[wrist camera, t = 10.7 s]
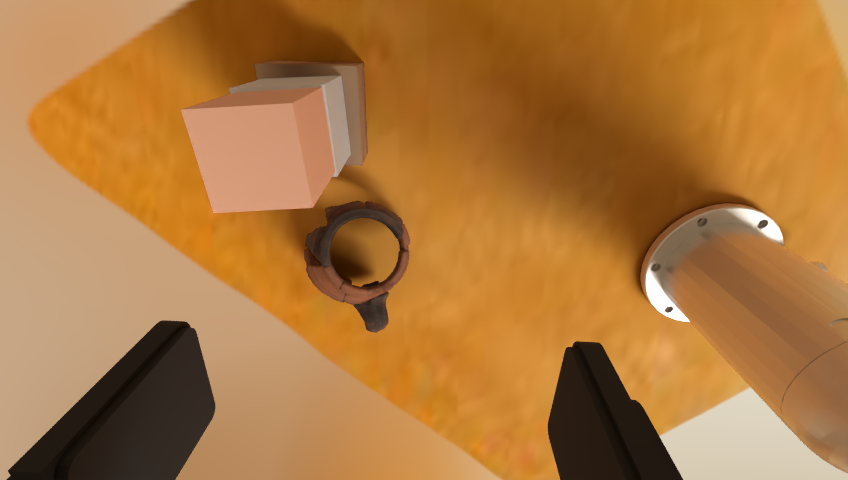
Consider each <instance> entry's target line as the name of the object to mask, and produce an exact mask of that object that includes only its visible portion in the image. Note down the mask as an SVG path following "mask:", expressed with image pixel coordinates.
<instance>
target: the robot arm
mask: <svg viewBox="0 0 848 480" xmlns="http://www.w3.org/2000/svg"><path fill="white" fill-rule="evenodd" d="M826 270H827V269H826V266H825V265H824V264H823V263H821V262H809V261H807V260H806V259H804V258H802V257H800V256H799V255H797V254H795V253H794V252H792V251H790V250H788V249H787V248H785V247H784V240H783V235H782V233H781V230H780V228H779V226H778V225H777V224H776V223H775V221H774V220H773V219H772V218H771V217H769V216H768V215H766V214H765V213H763V212H761V211H759V210H757V209H755V208H753V207H750V206H746V205H742V204H730V203H725V204H717V205H711V206H708V207H704V208H701V209H698V210H696V211H694V212H691V213H689V214H687V215H685V216H683V217H682V218H680V219H679V220H677V221H676V222H674V223H673V224H671V225H670V226H669V227H668V228H667V229H666V230H664V231H663V232H662V233H661V234H660V235H659V237H658V238H657V239H656V240H655V241H654V242H653V244H652V245H651V247H650V249H649V250H648V252H647V254H646V256H645V259H644V261H643V264H642V268H641V275H640V278H641V287H642V290H643V293H644V295H645V297H646V298H647V300H648V301H649V302H650V303H651V305H652V306H653V307H654V308H655V309H656V310H657V311H658V312H660V313H661V314H663V315H664V316H667V317H669V318H672V319H674V320H679V321H684V322H690V323H691V324H692V325H693V326H694V327H695V328H696V329H697V330H698V331H699V332H700V333H701V334H702V335H703V336H704V338H705V339H706V340H707V341H708V342H709V343H710V344H711V345H712V346H713V347H714V348H715V349H716V350H717V351H718V353H719V354H720V355H721V356H722V357H723V358H724V359H725V360H726V361H727V362H728V363H729V364H730V365H731V366H732V368H733V369H734V370H735V371H736V372H737V373H738V374H739V375H740V376H741V377H742V378H743V379H744V380H745V381H746V383H747V384H748V385H749V386H750V387H751V388H752V389H753V390H754V391H755V392H756V393H757V394H758V395H759V397H761V399H763V401H764V402H765V403H766V404H767V405H768V406H769V407H770V408H771V409H772V410H773V411H774V412H775V414H776V415H777V416H778V417H779V418H780V419H781V420H782V421H783V422H784V423H785V424H786V425H787V426H788V428H789V429H791V430H792V432H793V433H794V434H795V435H796V436H797V437H798V438H799V439H800V440H801V441H802V442H803V443H804V444H805V445H806V446H807V447H808V448H809V449H810V450H811V451H813V452H814V453H815V454H816V455H818V456H819V457H820V458H822V459H823V460H824V461H826V462H828V463H829V464H831V465H833V466H834V467H836V468H838V469H840V470H842V471H844V472H846V473H848V284H846V283H845V282H843V281H841V280H840V279H838V278H836V277H834V276H833V275H831V274H829V273H828V272H826ZM214 412H215V402H214V398H213V394H212V390H211V386H210V382H209V379H208V375H207V371H206V367H205V363H204V360H203V356H202V352H201V348H200V344H199V341H198V337H197V333H196V331H195V329H194V328H191V327H190V325H189V324H188V323H187V322H182V321H160V322H159V323H157V324H156V325H155V326H154V327H153V328H152V329H151V330H150V331H149V332H148V333H147V334H146V335H145V336H144V337H143V338H142V339H141V340H140V341H139V342H138V343H137V344H136V345H135V346H134V347H133V348H132V349H131V350H130V351H129V352H128V353H127V354H126V355H125V356H124V357H123V358H122V359H120V361H119V362H117V363H116V364H115V365H114V367H112V369H110V370H109V371H108V372H107V373H106V374H105V375H104V376H103V378H101V379H100V380H99V381H98V382H97V383H96V384H95V385H94V386H93V387H92V388H91V389H90V390H89V391H88V392H87V393H86V394H85V395H84V396H83V397H82V398H81V399H80V400H79V401H78V402H77V403H76V404H75V405H74V406H73V407H72V408H71V409H70V410H69V411H68V412H67V413H66V414H65V415H64V416H63V417H62V418H61V419H60V420H59V421H58V422H57V423H56V424H55V425H54V426H53V427H52V428H51V429H50V430H49V431H48V432H47V433H46V434H45V435H44V436H43V437H42V438H41V439H40V440H39V441H38V442H37V443H36V444H35V445H34V446H33V447H32V448H31V449H30V450H29V451H27V453H25V455H23V457H21V458H20V459H19V461H17V462H16V464H14V465H13V466H12V467H11V468H10V469H9V470H8V472H9V474H10V475H11V476H10V477H9V478H8V479H7V480H175V479H176V477H177V476H178V474H179V473H180V471H181V469H182V468H183V466H184V464H185V463H186V461H187V459H188V458H189V456H190V454H191V453H192V451H193V449H194V448H195V446H196V445H197V443H198V441H199V440H200V438H201V436H202V435H203V433H204V431H205V430H206V428H207V426H208V425H209V423H210V421H211V420H212V418H213V415H214ZM548 435H549V439H550V443H551V447H552V450H553V454H554V458H555V461H556V465H557V468H558V472H559V476H560V479H561V480H683V479H682V477H681V475H680V473H679V471H678V470H677V468H676V466H675V464H674V462H673V461H672V459H671V457H670V455H669V454H668V452H667V450H666V448H665V446H664V445H663V443H662V441H661V439H660V437H659V435H658V434H657V432H656V430H655V428H654V426H653V425H652V423H651V421H650V419H649V417H648V416H647V414H646V412H645V410H644V409H643V407H642V406H641V404H640V403H639V402H637V401H636V400H631V399H630V397H629V395H628V393H627V391H626V389H625V388H624V386H623V384H622V382H621V380H620V378H619V376H618V374H617V373H616V371H615V369H614V367H613V365H612V363H611V361H610V359H609V358H608V356H607V354H606V352H605V350H604V348H603V346H602V345H601V344H600V343H596V342H575V343H574V344H573V347H567V348H566V350H565V354H564V358H563V362H562V366H561V371H560V375H559V379H558V383H557V387H556V392H555V396H554V400H553V404H552V408H551V413H550V417H549V421H548Z"/></svg>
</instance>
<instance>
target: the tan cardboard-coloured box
mask: <svg viewBox="0 0 848 480" xmlns="http://www.w3.org/2000/svg"><path fill="white" fill-rule="evenodd" d="M254 65H255V71H256V78H257V80H259V79H266V78H290V77H314V76H339V75H341V77H342V85H343V93H344V102H345V110H346V118H347V127H348V135H349V143H350V151H351V154H350V156H349V158H348V159H347V161H346V163H345V165H362V164H363V162H364V160H365V158H366V155H367V153H368V150H367V127H366V103H365V80H364V62H318V61H267V62H261V63H256V64H254Z"/></svg>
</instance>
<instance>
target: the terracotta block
mask: <svg viewBox="0 0 848 480" xmlns="http://www.w3.org/2000/svg"><path fill="white" fill-rule="evenodd" d="M181 111H182V114H183V118H184V121H185V124H186V127H187V130H188V133H189V137H190V140H191V143H192V146H193V149H194V153H195V156H196V159H197V162H198V165H199V168H200V172H201V175H202V178H203V181H204V184H205V187H206V191H207V194H208V197H209V200H210V203H211V206H212V210H213V213H225V212H244V211H263V210H281V209H300V208H313V207H314V205H315V203H316V202H317V200H318V199H319V197H320V195H321V194H322V192H323V191H324V189H325V187H326V186H327V184H328V183H329V181H330V179H331V178H332V176H333V175H334V173H335V164H334V158H333V152H332V146H331V139H330V133H329V127H328V120H327V114H326V108H325V102H324V95H323V89H322V87H315V88H298V89H281V90H265V91H248V92H235V93H232V94H229V95H226V96H222V97H219V98H216V99H213V100H210V101H207V102H204V103H200V104H197V105H194V106H191V107H188V108H185V109H182V110H181Z"/></svg>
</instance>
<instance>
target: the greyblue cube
mask: <svg viewBox="0 0 848 480" xmlns="http://www.w3.org/2000/svg"><path fill="white" fill-rule="evenodd" d="M315 87H322V89H323V95H324V102H325V108H326V114H327V120H328V127H329V133H330V139H331V146H332V152H333V158H334V164H335V173H334V175H333V176H332V177H338V175H339V173H340V171H341V170H342V168H343V166H344V165H345V163H346V161H347V159H348V158H349V156H350V154H351V151H350V143H349V135H348V127H347V118H346V110H345V102H344V93H343V85H342V77H341V75H339V76H314V77H290V78H266V79H259V80H256V81H252V82H249V83H245V84H242V85H238V86H235V87H232V88H229V91H230V94H232V93H235V92H248V91H265V90H281V89H298V88H315Z"/></svg>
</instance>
